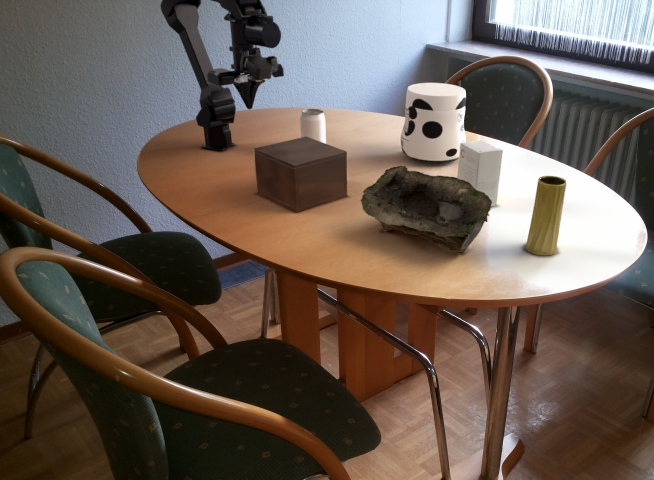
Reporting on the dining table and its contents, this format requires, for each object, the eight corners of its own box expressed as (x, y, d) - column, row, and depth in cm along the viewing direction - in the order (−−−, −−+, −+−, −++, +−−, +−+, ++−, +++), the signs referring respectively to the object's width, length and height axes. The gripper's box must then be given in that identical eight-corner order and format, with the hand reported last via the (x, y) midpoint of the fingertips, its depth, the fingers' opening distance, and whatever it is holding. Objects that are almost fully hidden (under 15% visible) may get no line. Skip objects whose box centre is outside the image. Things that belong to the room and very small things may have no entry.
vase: (521, 242, 130) (532, 174, 122) (551, 242, 130) (563, 174, 123) (529, 256, 125) (541, 186, 117) (560, 255, 125) (573, 186, 118)
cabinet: (257, 193, 148) (253, 148, 142) (307, 179, 157) (306, 136, 151) (296, 212, 139) (294, 165, 134) (347, 196, 148) (347, 151, 143)
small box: (496, 205, 146) (503, 149, 139) (473, 209, 144) (479, 152, 137) (477, 193, 152) (483, 139, 145) (454, 197, 150) (459, 142, 143)
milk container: (476, 158, 175) (483, 90, 165) (436, 172, 164) (441, 100, 154) (428, 143, 185) (432, 78, 175) (386, 156, 174) (388, 87, 164)
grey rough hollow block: (482, 282, 125) (520, 216, 126) (458, 257, 114) (500, 185, 115) (377, 233, 140) (412, 175, 141) (348, 207, 129) (386, 144, 130)
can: (328, 154, 174) (327, 109, 168) (323, 161, 168) (322, 115, 162) (304, 152, 174) (302, 107, 168) (299, 160, 169) (297, 114, 163)
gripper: (228, 51, 143) (235, 122, 151) (296, 43, 154) (298, 109, 163) (202, 44, 150) (210, 112, 158) (268, 37, 161) (272, 100, 169)
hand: (249, 108), depth 162 cm, fingers closed
